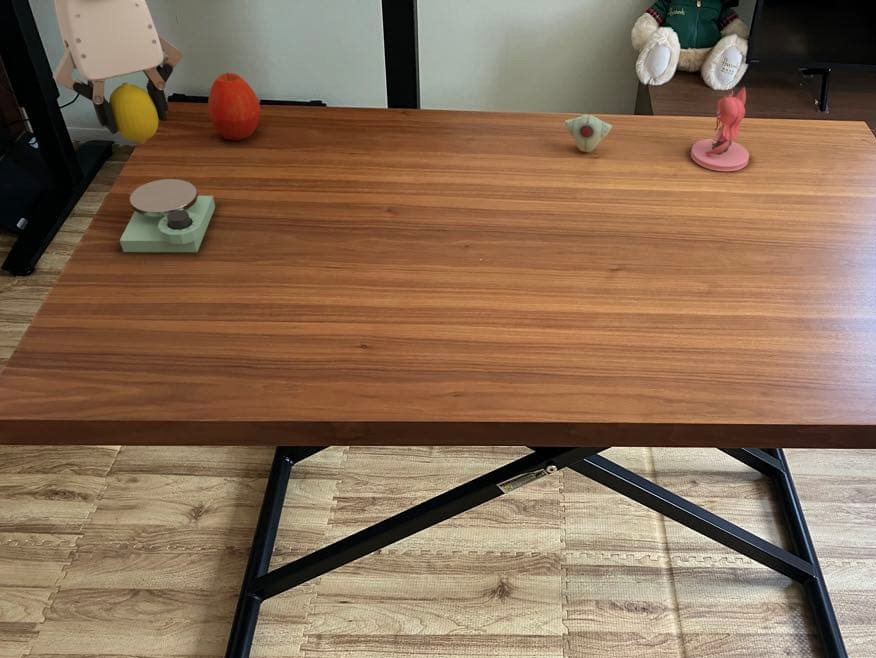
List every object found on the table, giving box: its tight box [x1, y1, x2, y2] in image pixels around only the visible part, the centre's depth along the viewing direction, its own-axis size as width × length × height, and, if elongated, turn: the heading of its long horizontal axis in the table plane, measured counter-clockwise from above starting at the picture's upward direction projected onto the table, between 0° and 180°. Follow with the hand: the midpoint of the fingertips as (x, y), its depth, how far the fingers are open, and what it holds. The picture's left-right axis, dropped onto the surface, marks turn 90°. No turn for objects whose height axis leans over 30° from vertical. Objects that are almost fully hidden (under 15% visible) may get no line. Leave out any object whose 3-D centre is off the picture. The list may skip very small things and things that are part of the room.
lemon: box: [108, 82, 160, 145], centre depth 110 cm, size 6×6×8 cm
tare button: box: [167, 210, 191, 230], centre depth 120 cm, size 3×3×2 cm
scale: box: [119, 195, 216, 253], centre depth 124 cm, size 13×11×4 cm
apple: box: [207, 72, 261, 142], centre depth 142 cm, size 8×8×11 cm
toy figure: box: [690, 86, 750, 172], centre depth 144 cm, size 10×10×12 cm
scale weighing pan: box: [129, 178, 199, 217], centre depth 124 cm, size 9×9×1 cm
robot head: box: [564, 114, 613, 153], centre depth 145 cm, size 8×4×7 cm, turn 82°
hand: (136, 121), depth 111 cm, fingers closed on lemon, 5 cm apart
